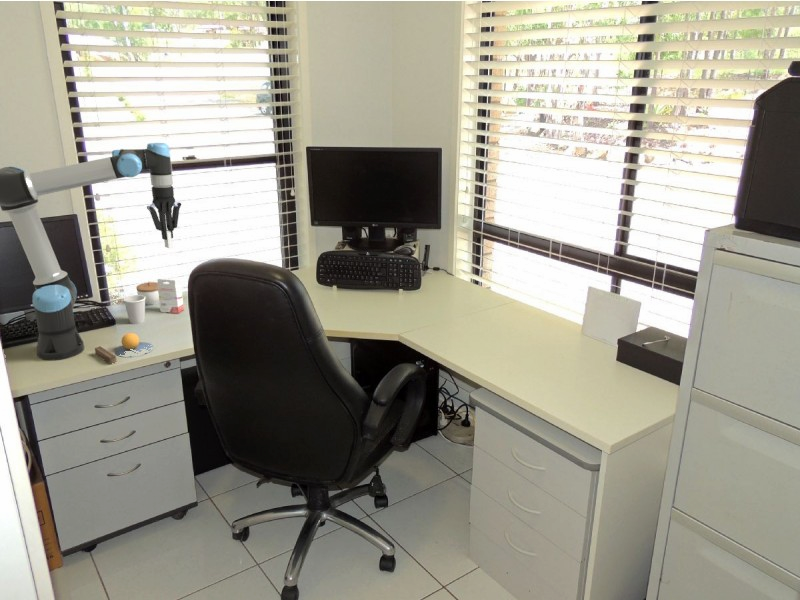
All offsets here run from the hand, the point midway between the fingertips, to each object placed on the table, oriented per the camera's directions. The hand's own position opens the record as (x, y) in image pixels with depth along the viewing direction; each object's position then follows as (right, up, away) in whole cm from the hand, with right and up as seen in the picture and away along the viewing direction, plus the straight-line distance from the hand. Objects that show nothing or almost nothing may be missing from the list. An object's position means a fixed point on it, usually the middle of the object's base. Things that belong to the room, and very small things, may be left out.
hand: (168, 247), depth 239 cm
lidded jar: (-21, -22, +35) cm, 46 cm away
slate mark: (-8, -39, -12) cm, 41 cm away
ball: (-9, -35, -12) cm, 39 cm away
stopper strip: (-15, -41, -20) cm, 48 cm away
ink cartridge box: (-8, -25, +26) cm, 37 cm away
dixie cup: (-18, -29, +14) cm, 37 cm away
